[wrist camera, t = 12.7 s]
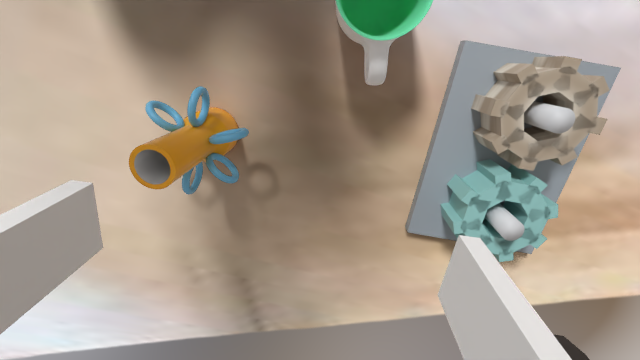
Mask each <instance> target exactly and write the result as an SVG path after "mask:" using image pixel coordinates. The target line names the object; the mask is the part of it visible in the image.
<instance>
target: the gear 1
mask: <svg viewBox="0 0 640 360" xmlns="http://www.w3.org/2000/svg"><path fill="white" fill-rule="evenodd" d="M581 61H582V59H577V58H571V57H566V56H558V57H534V60H533V62H532V64H525V63H507V64H505V65H504V66H502V67H500V68H499V69H497V70H496V71H494V74H495V76H496V78H497V82H496V83H495V84H494V85H493V87H492V88H491V89H490V90H489V92H488V93H487V94H486V95H485V96H483V95H477V94H476V95H475V98H474V101H473V104H472V107H471V109H474V110H477V111H479V112H480V116H481V127H480V128H478V129H477V130H475V131H473V133H474V135H475V137H476V139H477V140H478V142H479V143H480V144H482V145H483V146H485V147H487V148H488V149H490V150H492V151H493V152H495V153H497V155H498V156H499V157H501V158H503V159H504V160H506V161H508V162H509V163H511V164H513V165H514V166H516V167H517V168H520V169H526V170H531V171H534V169H535V166H536V164H537V162H538V161H543V160H548V159H549V160H551V161H553V162H555V163H558V164H560V165H564V164H566V163H568V162H570V161H572V160H573V159H575V158H577V155H576V153H575V151H574V148H575V147H576V146H577V145H578V144H579V143H580V142H581V141H582V140H583V139H584V138H585V137H586V136H587V135H588V134H589V133H592V134H598V135H600V133H601V131H602V129H603V127H604V125H605V123H606V121H607V119H605V118H600V117H597V109H598V97H599V96H601V95H603V94H604V93H606V92H608V91H610V90H609V87H608V85H607V83H606V80H605V78H604V76H594V75H581V74H580V73H579V72H577V70H578V68H579V65H580V63H581ZM538 96H542V97H543V103H546V104H550V105H555V106H560V107H564V108H569V109H571V110H572V111H573V112H574V114H575V122H574V124H573V126H572V127H571V128H570V129H569V130H568V131H566V132H564V133H559V134H557V133H553V132H550V131H547V130H544V129H541V128H538V127H536V126H533V125H532V126H531V128H526V129H524V112H525V111H526V110H527V109H528V108H529V106H530V105H531V104H532V103H533V102H534V101H535V100H536V98H537V97H538Z"/></svg>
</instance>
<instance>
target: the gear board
mask: <svg viewBox="0 0 640 360" xmlns="http://www.w3.org/2000/svg"><path fill="white" fill-rule="evenodd" d="M534 57H556V56H551V55H545V54H539V53H534V52H528V51H522V50H517V49H511V48H505V47H500V46H494V45H488V44H483V43H477V42H471V41H461V42H460V45H459V49H458V52H457V55H456V59H455V62H454V65H453V69H452V72H451V75H450V79H449V82H448V85H447V89H446V92H445V95H444V99H443V102H442V106H441V109H440V112H439V116H438V119H437V122H436V126H435V129H434V132H433V136H432V139H431V142H430V146H429V149H428V152H427V156H426V159H425V162H424V166H423V169H422V172H421V176H420V179H419V182H418V186H417V189H416V192H415V196H414V199H413V202H412V206H411V209H410V213H409V216H408V219H407V223H406V226H405V227H406V230H407V232H409V233H415V234H420V235H426V236H432V237H437V238H443V239H449V240H455V241H457V238H456V236H455V235H454V233H453V232H452V230H451V228H450V227H449V225H448V224H447V222H446V221H445V219H444V218H443V216H442V214H441V205H440V204H443V203H449V200H450V197H451V195H452V192H453V191H452V189H451V188H450V187H449V186H448V185H447V183H448V182H449V181H450V180H451V179H452V178H453V176H454V175H455V174H456V175H458V176H459V177H461V178H464V177H466V176H467V175H469V174H471V173H473V172H474V171H476V170H477V162H478V161H483V160H489V159H491V160H492V161H494V162H495V163H497V164H498V165H500V166H501V167H503V168H504V169H506V170H507V169H508V168H509V167H510V166H511V165H512V164H511V163H509V162H508V161H506V160H504V159H503V158H501V157H499V156H498V155H497V153H495V152H493V151H492V150H490V149H488V148H487V147H485V146H483V145H482V144H480V143H479V142H478V140H477V139H476V137H475V135H474V133H473V131H475V130H477V129H478V128H480V127H481V116H480V112H479V111H477V110H474V109H471V107H472V104H473V101H474V98H475V95H476V94H477V95H483V96H485V95H486V94H487V93H488V92H489V90H490V89H491V88H492V87H493V85H494V84H495V83H496V82H497V78H496V76H495V74H494V71H496V70H497V69H499V68H500V67H502V66H504V65H505V64H507V63H525V64H532V62H533V60H534ZM620 69H621V68H619V67H613V66H607V65H602V64H596V63H590V62H585V61H581V63H580V65H579V68H578V70H577V72H579V73H580V74H581V75H594V76H604V78H605V80H606V83H607V85H608V87H609V90H611V88H612V86H613V83H614V81H615V79H616V77H617V75H618V73H619V71H620ZM609 92H610V91H608V92H606V93H604V94H603V95H601V96H599V97H598V109H597V117H598V115H599V112H600V110H601V108H602V106H603V104H604V102H605V100H606V98H607V96H608V94H609ZM574 122H575V114H574V112H573V111H572V110H571V109H569V108H564V107H560V106H555V105H550V104H546V103H543V97H542V96H538V97H537V98H536V100H535V101H534V102H533V103H532V104H531V105H530V106H529V108H528V109H527V110H526V111H525V112H524V129H526V128H531V126H532V125H533V126H536V127H538V128H541V129H544V130H547V131H550V132H553V133H557V134H559V133H564V132H566V131H568V130H569V129H570V128H571V127H572V126H573V124H574ZM588 135H589V134H588ZM588 135H587V136H586V137H585V138H584V139H583V140H582V141H581V142H580V143H579V144H578V145H577V146H576V147H575V148H574V151H575V153H576V155H577V158H578V156H579V154H580V152H581V150H582V148H583V146H584V144H585V142H586V139H587V137H588ZM577 158H575V159H573V160H572V161H570V162H568V163H566V164H564V165H560V164H558V163H555V162H553V161H551V160H549V159H548V160H543V161H538V162H537V164H536V166H535V169H534V171H531V170H526V169H524V170H525V171H527V172H529V173H530V174H532V175H534V176H535V177H537V178H538V179H540V180H541V181H543V182H544V183H546V184H547V185H548V186H547V187H546V188H545V189H544V190H543V191H542V192H541V194H543V195H544V196H546V197H547V198H549V199H550V200H552V201H553V202H555V203H556V202H557V200H558V198H559V195H560V193H561V191H562V189H563V187H564V185H565V183H566V181H567V179H568V177H569V175H570V173H571V171H572V169H573V166H574V164H575V162H576V160H577ZM504 202H505V200H504V201H502V202H500V203H498V204H496V205H494V206H493V207H491V208H489V209H488V210H487V212H486V215H485V217H484V218H485V219H486V220H487V221H488V222H489V223H490V224H491V225H492V226H493V227H494V228H495V229H496V231H497V232H498V233H499V234H500V235H501V236H502V237H503V238H504V239H505V240H508V241H513V240H517V239H519V238H520V237H521V236H522V235H523V233H524V230H525V229H524V225H523V224H522V223H521V222H520V221H519V220H517V219H516V218H515V217H514V216H513V215H512V214H511V213H510V212H509V211H507V210H506V209H505V208H504V207H503V205H504ZM547 220H548V219H547ZM545 225H546V224H545ZM544 227H545V226H544ZM543 229H544V228H543ZM542 231H543V230H542ZM541 233H542V232H541ZM533 249H534V247H533V246H532V245H528V246H526V247H524V248H522V249H519V250H517V252H523V253H529V254H532V252H533Z"/></svg>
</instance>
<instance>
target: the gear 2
mask: <svg viewBox="0 0 640 360" xmlns="http://www.w3.org/2000/svg"><path fill="white" fill-rule="evenodd" d="M447 185H448V186H449V187H450V188H451V189H452V191H453V192H452V195H451V197H450V200H449V203H443V204H440V205H441V214H442V216H443V218H444V219H445V221H446V222H447V224H448V225H449V227H450V228H451V230H452V232H453V233H454V235H455V236H456V238H457V239H458V236H459V235H462V236H469V237H477V238H481V240H482V241H483V242H484V244H485V245H486V246H487V248H488V249H489V250H490V252H491V253H492V254H493V255H494V256H495V257H496V259H497V260H498V261H499V262H504V261H510V260H513V252H515V251H517V250H519V249H522V248H524V247H526V246H528V245H532V246H533V247H535V248H536V249H537V248H538V247H539V246H540V245H541V244H542V243H543V242H545V241H546V240H547V238H546V237H545V236H543V235H542V234H541V232H542V230H543V228H544V226H545V224H546V222H547V219H551V218H557V217H558V204H556V203H555V202H553V201H552V200H550V199H549V198H547V197H546V196H544V195H543V194H541V192H542V191H543V190H544V189H545V188H546V187H547V186H548V185H547V184H546V183H544V182H543V181H541V180H540V179H538V178H537V177H535V176H534V175H532V174H530V173H529V172H527V171H525V170H524V169H520V168H517V167H516V166H514V165H513V164H512V165H511V166H510V167H509V168H508V169H507V170H506V169H504V168H503V167H501V166H500V165H498V164H497V163H495V162H494V161H492V160H491V159H489V160H483V161H478V162H477V170H476V171H474V172H473V173H471V174H469V175H467V176H466V177H464V178H461V177H459V176H458V175H456V174H455V175H454V176H453V178H452V179H451V180H450V181H449V182H448V183H447ZM504 200H505V202H504V205H503V207H504V208H505V209H506V210H507V211H509V212H510V213H511V214H512V215H513V216H514V217H515V218H516V219H517V220H519V221H520V222H521V223H522V224H523V225H524V229H525V230H524V233H523V235H522V236H521V237H520V238H519V239H517V240H513V241H508V240H505V239H504V238H503V237H502V236H501V235H500V234H499V233H498V232H497V231H496V229H495V228H494V227H493V226H492V225H491V224H490V223H489V222H488V221H487V220H486V219H485V218H484V217H485V215H486V212H487V210H488V209H489V208H491V207H493V206H494V205H496V204H498V203H500V202H502V201H504Z"/></svg>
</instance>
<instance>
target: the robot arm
mask: <svg viewBox="0 0 640 360" xmlns="http://www.w3.org/2000/svg"><path fill="white" fill-rule="evenodd" d="M102 248H103V244H102V237H101V231H100V225H99V219H98V212H97V206H96V200H95V194H94V187H93V183H89V182H82V181H75V180H71V181H68V182H66V183H64V184H62V185H60V186H58V187H56V188H54V189H52V190H50V191H48V192H46V193H44V194H42V195H40V196H38V197H36V198H34V199H32V200H30V201H27V202H25V203H23V204H21V205H19V206H17V207H15V208H13V209H11V210H9V211H7V212H5V213H3V214H1V215H0V334H1V333H2V332H4V331H5V330H6V329H7V328H8V327H10V326H11V325H12V324H13V323H14V322H15V321H17V320H18V319H19V318H20V317H21V316H23V315H24V314H25V313H26V312H27V311H29V310H30V309H31V308H32V307H33V306H34V305H36V304H37V303H38V302H39V301H40V300H42V299H43V298H44V297H45V296H46V295H48V294H49V293H50V292H51V291H52V290H53V289H55V288H56V287H57V286H58V285H59V284H61V283H62V282H63V281H64V280H65V279H67V278H68V277H69V276H70V275H71V274H73V273H74V272H75V271H76V270H77V269H78V268H80V267H81V266H82V265H83V264H84V263H86V262H87V261H88V260H89V259H90V258H92V257H93V256H94V255H95V254H96V253H97V252H99V251H100V250H101V249H102ZM438 297H439V300H440V302H441V305H442V307H443V309H444V312H445V314H446V317H447V319H448V322H449V324H450V326H451V329H452V332H453V334H454V337H455V339H456V341H457V344H458V346H459V349H460V351H461V354H462V356H463V359H464V360H589V359H588V357H587V356H586V355H585V354H584V353H583V352H582V351H580V350H579V349H578V348H577V347H576V346H575V345H574V344H572V343H571V342H570V341H569V340H568V339H566V338H565V337H564V336H559V335H553V334H552V333H551V331H550V330H549V329H548V327H547V326H546V325H545V323H544V322H543V321H542V320H541V318H540V317H539V315H538V314H537V313H536V311H535V310H534V309H533V307H532V306H531V305H530V303H529V302H528V301H527V299H526V298H525V297H524V295H523V294H522V293H521V291H520V290H519V289H518V287H517V286H516V285H515V283H514V282H513V281H512V280H511V278H510V277H509V276H508V274H507V273H506V272H505V270H504V269H503V268H502V266H501V265H500V264H499V262H498V261H497V260H496V258H495V257H494V256H493V254H492V253H491V252H490V250H489V249H488V248H487V246H486V245H485V244H484V242H483V241H482V240H481V238H477V237H469V236H462V235H459V236H458V239H457V242H456V244H455V247H454V250H453V253H452V256H451V259H450V262H449V264H448V267H447V270H446V273H445V276H444V279H443V281H442V284H441V287H440V290H439V293H438Z"/></svg>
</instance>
